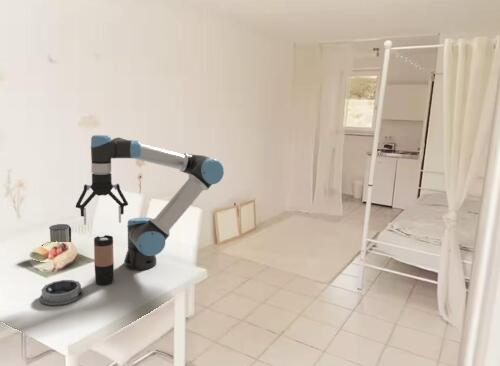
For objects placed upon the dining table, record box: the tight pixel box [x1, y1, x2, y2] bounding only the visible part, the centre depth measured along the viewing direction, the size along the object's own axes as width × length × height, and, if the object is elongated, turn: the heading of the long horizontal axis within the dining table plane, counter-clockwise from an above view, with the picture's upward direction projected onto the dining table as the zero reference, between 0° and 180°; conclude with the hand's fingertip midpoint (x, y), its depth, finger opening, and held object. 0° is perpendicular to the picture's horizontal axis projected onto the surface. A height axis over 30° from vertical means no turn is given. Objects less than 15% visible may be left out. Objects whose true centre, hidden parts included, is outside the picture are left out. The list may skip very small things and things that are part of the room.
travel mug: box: [93, 234, 115, 287], centre depth 161 cm, size 8×8×20 cm
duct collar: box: [39, 279, 84, 307], centre depth 148 cm, size 15×15×4 cm
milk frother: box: [41, 223, 72, 246], centre depth 191 cm, size 14×16×15 cm
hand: (102, 222), depth 158 cm, fingers open, 13 cm apart
